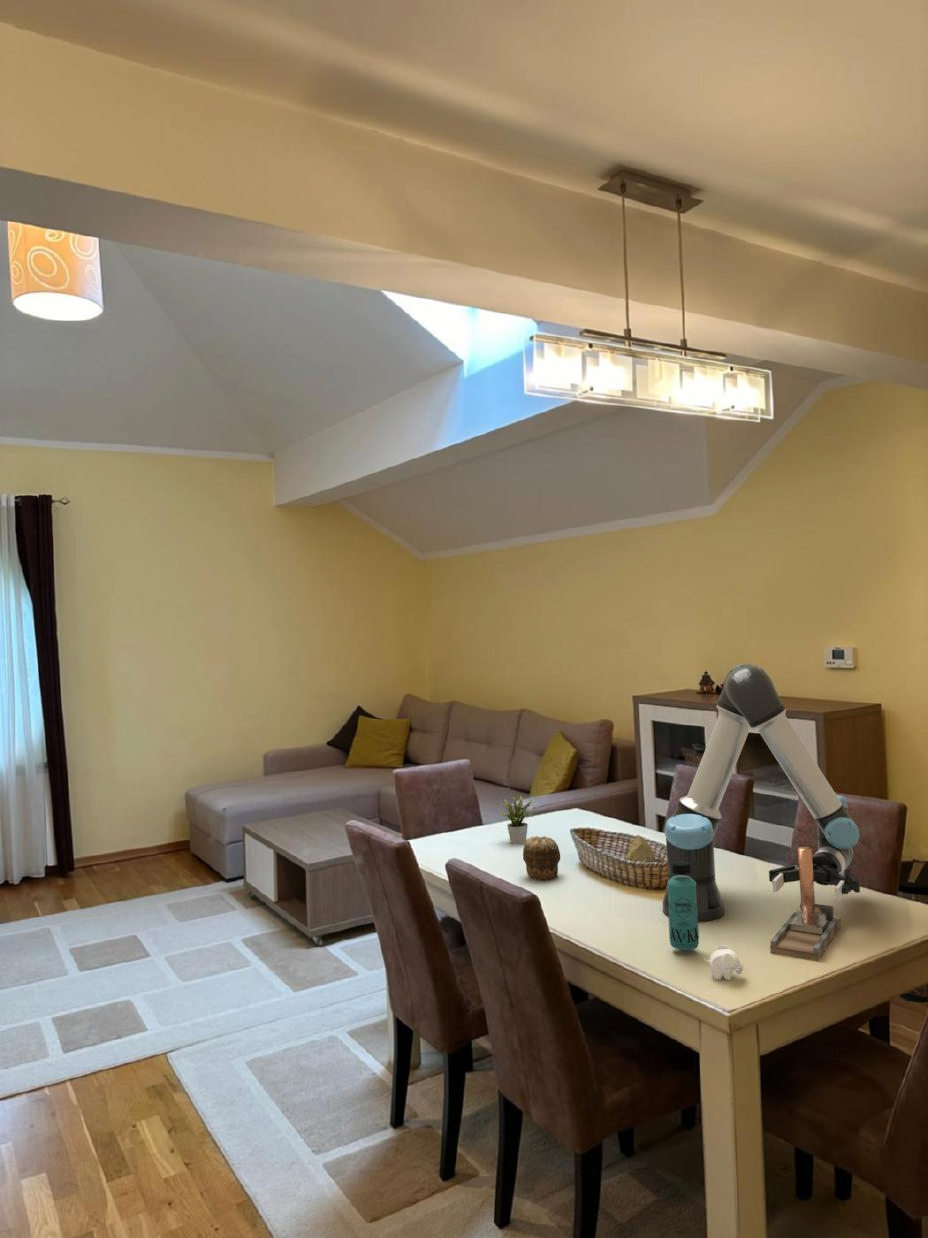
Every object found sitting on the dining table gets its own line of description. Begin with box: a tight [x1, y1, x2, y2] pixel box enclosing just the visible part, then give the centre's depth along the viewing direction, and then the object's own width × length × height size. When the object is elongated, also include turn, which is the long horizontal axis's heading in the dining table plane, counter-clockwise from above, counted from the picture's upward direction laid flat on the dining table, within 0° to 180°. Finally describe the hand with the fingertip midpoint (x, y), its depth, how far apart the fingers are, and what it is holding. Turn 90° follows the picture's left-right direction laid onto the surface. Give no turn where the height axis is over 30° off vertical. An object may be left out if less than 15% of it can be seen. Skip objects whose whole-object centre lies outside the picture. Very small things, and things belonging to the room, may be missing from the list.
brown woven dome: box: [522, 835, 561, 882], centre depth 253 cm, size 11×11×12 cm
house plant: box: [499, 795, 537, 845], centre depth 294 cm, size 14×14×16 cm
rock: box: [625, 834, 657, 863], centre depth 255 cm, size 11×9×10 cm
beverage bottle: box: [667, 861, 700, 951], centre depth 192 cm, size 6×7×20 cm
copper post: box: [790, 846, 828, 934], centre depth 198 cm, size 6×7×18 cm
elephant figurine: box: [703, 944, 744, 981], centre depth 177 cm, size 7×8×6 cm
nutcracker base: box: [769, 903, 842, 962], centre depth 196 cm, size 24×10×5 cm, turn 145°
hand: (804, 890), depth 195 cm, fingers open, 13 cm apart
